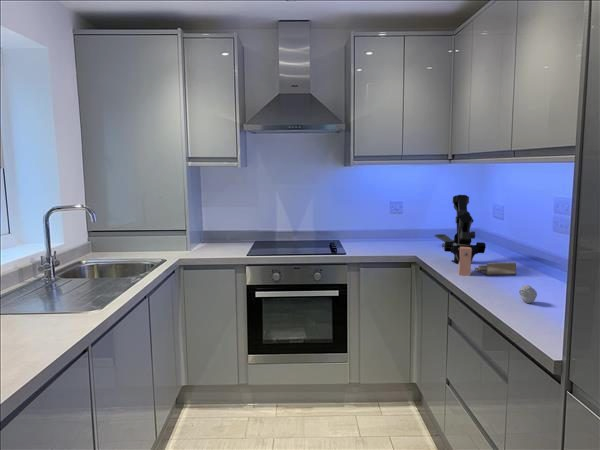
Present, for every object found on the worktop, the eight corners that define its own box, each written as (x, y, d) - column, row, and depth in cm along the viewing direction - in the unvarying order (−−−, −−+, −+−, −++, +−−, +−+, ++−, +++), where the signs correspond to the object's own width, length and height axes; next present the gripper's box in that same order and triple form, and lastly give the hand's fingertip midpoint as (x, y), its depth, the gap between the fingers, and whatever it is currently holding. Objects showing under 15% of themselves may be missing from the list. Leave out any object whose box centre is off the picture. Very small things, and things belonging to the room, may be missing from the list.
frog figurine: (514, 302, 175) (515, 284, 174) (525, 299, 178) (526, 282, 178) (529, 306, 170) (530, 288, 169) (540, 303, 173) (541, 285, 172)
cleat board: (474, 269, 229) (475, 258, 229) (501, 269, 231) (501, 257, 230) (487, 276, 216) (488, 263, 216) (515, 275, 218) (516, 263, 217)
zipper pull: (445, 234, 305) (464, 240, 281) (445, 243, 306) (463, 250, 282) (433, 234, 304) (450, 240, 280) (432, 244, 305) (450, 251, 280)
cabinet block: (458, 272, 223) (459, 246, 221) (469, 273, 222) (470, 247, 220) (459, 275, 217) (460, 248, 216) (470, 276, 216) (471, 249, 214)
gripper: (445, 224, 223) (445, 250, 214) (486, 226, 218) (488, 252, 209) (444, 238, 232) (444, 263, 222) (483, 239, 227) (484, 266, 218)
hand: (465, 261), depth 218 cm, fingers closed on cabinet block, 5 cm apart
